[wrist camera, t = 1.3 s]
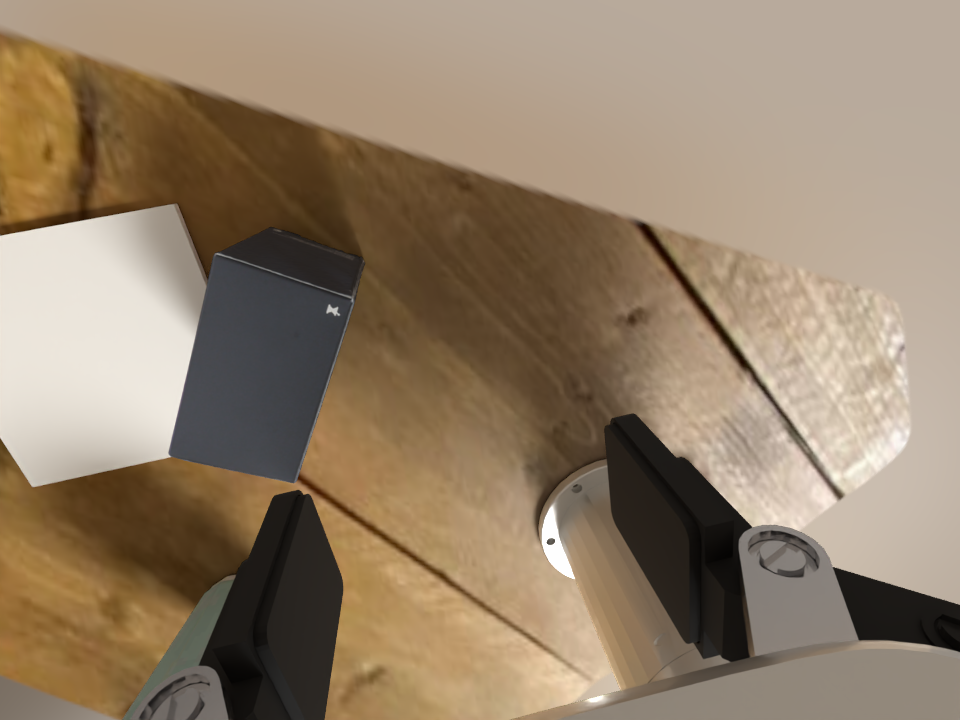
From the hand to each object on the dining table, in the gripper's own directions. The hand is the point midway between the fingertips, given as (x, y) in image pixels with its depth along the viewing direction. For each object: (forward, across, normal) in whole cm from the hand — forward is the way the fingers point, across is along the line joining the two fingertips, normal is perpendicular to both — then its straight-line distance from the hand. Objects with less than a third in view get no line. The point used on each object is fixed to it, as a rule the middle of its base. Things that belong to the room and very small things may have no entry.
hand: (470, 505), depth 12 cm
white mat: (+23, +22, 0) cm, 31 cm away
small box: (+23, +9, 0) cm, 24 cm away
